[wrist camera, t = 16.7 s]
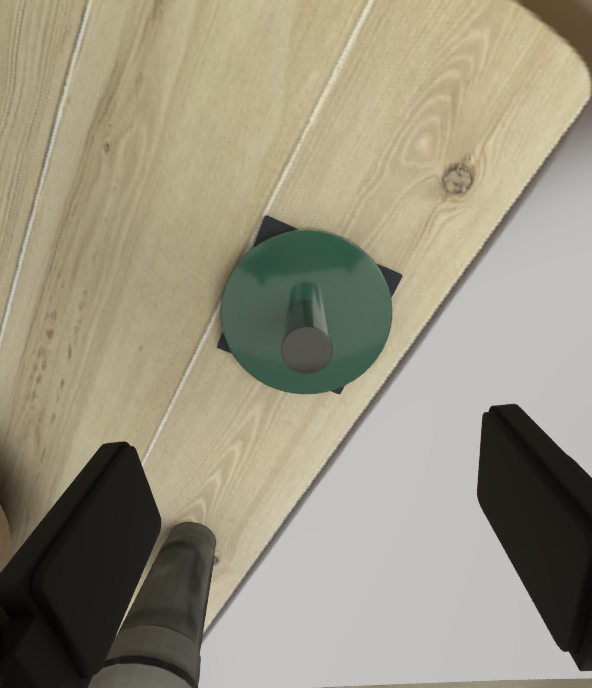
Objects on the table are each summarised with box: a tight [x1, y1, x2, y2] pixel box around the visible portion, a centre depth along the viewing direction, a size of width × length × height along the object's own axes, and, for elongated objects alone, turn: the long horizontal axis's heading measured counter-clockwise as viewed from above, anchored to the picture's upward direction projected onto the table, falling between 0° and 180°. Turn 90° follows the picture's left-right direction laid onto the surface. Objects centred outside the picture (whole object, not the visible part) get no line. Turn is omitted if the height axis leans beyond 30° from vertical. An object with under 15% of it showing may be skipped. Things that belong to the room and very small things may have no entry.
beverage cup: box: [88, 522, 216, 688], centre depth 26 cm, size 7×7×20 cm
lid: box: [221, 229, 392, 394], centre depth 23 cm, size 12×12×7 cm
